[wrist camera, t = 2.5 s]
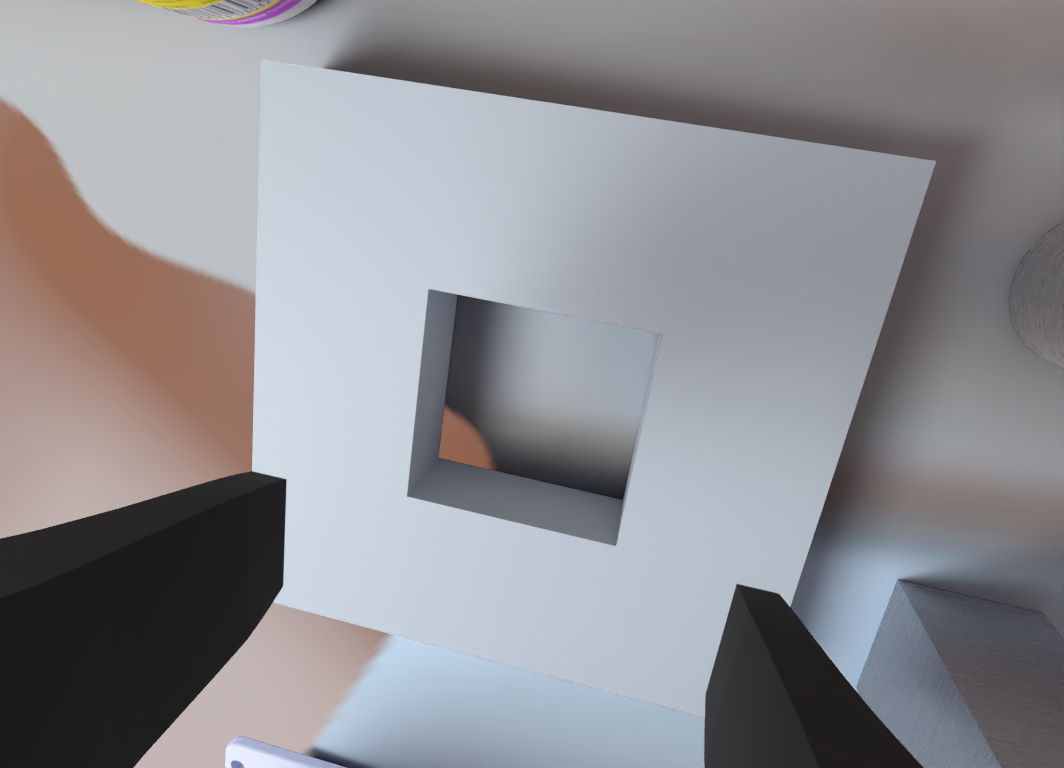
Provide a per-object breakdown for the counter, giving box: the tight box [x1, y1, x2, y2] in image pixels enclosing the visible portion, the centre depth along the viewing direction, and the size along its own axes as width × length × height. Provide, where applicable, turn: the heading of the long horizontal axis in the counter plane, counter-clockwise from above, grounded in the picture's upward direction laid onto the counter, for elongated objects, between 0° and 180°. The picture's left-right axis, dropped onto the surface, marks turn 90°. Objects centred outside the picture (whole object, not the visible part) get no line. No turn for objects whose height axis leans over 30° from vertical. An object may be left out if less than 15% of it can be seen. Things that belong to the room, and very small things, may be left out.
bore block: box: [252, 59, 936, 718], centre depth 17 cm, size 14×14×2 cm
